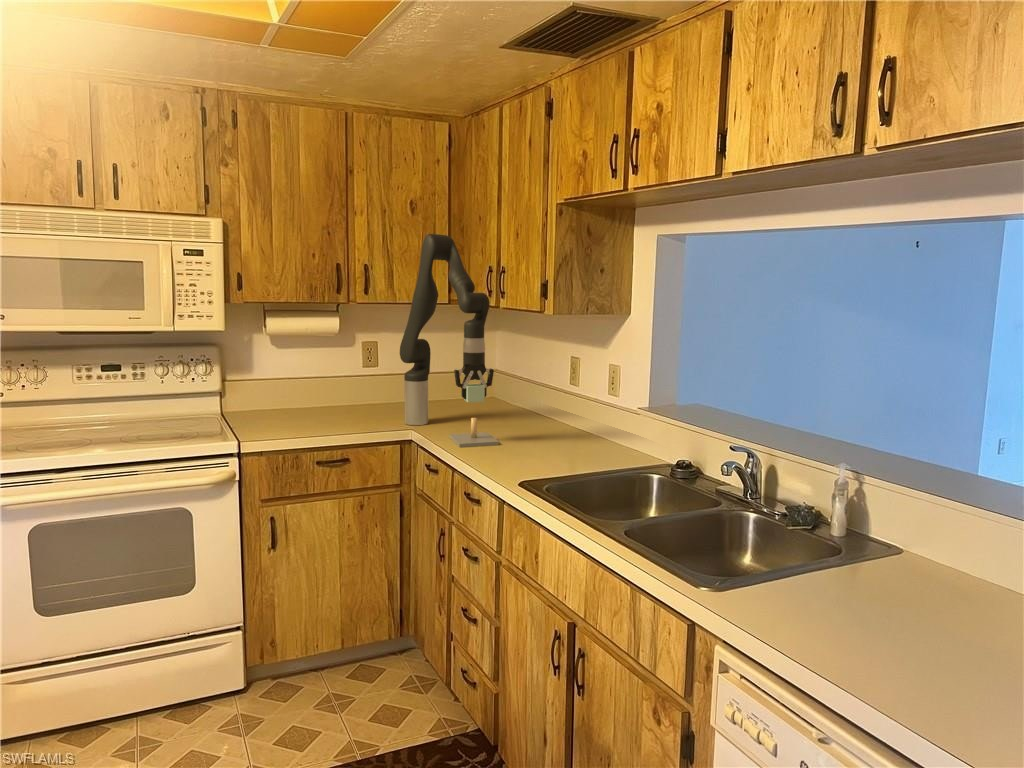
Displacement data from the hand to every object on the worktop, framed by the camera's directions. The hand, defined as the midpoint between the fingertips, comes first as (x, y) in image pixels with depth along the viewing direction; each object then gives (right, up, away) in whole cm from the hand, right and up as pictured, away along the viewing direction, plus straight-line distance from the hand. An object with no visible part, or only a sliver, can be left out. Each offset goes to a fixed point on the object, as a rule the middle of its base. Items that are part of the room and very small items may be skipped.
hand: (473, 398), depth 258 cm
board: (0, -15, +2) cm, 15 cm away
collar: (0, -1, 0) cm, 1 cm away
